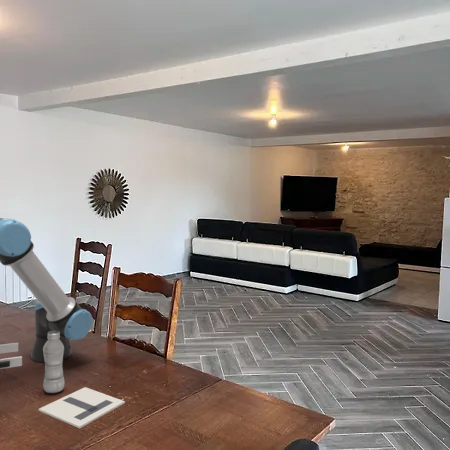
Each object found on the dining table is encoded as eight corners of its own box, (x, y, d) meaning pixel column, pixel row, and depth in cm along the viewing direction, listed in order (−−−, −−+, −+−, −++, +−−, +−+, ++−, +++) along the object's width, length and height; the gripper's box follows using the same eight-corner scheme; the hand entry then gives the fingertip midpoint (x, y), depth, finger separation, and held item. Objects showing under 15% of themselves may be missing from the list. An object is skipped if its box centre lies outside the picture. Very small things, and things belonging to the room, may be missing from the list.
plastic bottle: (57, 396, 143) (57, 336, 142) (38, 394, 145) (38, 334, 143) (68, 388, 150) (68, 330, 148) (50, 386, 151) (50, 328, 149)
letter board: (85, 388, 150) (85, 387, 150) (124, 403, 140) (124, 401, 140) (38, 410, 134) (38, 408, 134) (79, 428, 125) (79, 426, 125)
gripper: (-57, 361, 142) (16, 352, 152) (-63, 393, 120) (23, 380, 130) (-57, 338, 141) (16, 330, 151) (-63, 366, 119) (23, 355, 130)
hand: (20, 353), depth 141 cm, fingers open, 13 cm apart
